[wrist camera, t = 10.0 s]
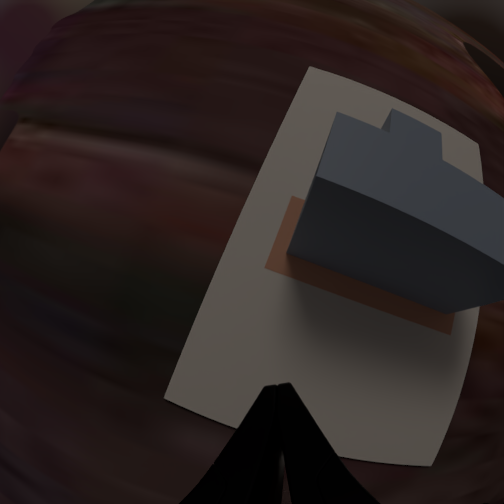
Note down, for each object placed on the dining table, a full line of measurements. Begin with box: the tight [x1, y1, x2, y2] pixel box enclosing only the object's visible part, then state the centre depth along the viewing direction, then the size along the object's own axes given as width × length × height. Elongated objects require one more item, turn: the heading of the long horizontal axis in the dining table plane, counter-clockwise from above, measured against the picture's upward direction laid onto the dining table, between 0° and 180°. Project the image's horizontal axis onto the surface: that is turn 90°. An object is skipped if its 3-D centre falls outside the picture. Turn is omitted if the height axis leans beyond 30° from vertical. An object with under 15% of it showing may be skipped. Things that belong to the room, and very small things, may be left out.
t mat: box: [164, 67, 483, 466], centre depth 21 cm, size 34×22×1 cm, turn 159°
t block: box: [286, 108, 504, 314], centre depth 17 cm, size 14×14×10 cm
